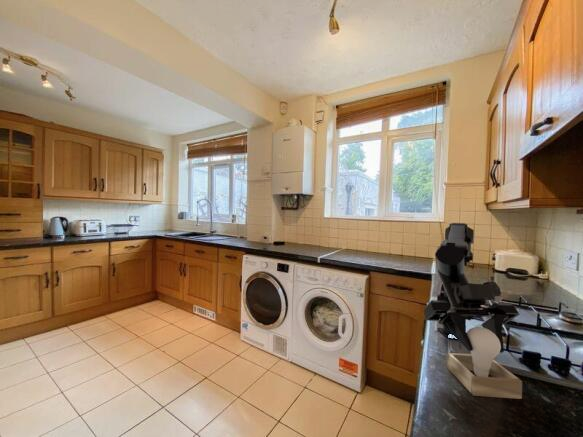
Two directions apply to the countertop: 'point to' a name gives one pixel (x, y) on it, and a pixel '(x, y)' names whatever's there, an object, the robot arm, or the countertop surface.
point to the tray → (484, 378)
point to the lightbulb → (483, 349)
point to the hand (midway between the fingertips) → (486, 351)
